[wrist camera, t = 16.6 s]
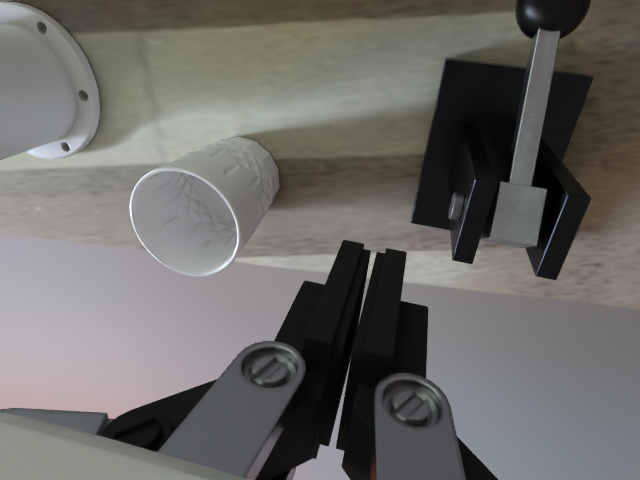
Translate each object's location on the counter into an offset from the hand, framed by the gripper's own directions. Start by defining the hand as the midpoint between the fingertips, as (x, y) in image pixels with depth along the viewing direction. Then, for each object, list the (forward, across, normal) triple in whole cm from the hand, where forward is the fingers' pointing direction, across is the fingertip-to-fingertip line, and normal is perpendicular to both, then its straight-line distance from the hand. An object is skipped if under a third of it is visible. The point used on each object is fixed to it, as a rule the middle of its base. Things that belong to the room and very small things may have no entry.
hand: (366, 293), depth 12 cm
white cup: (+23, +13, +7) cm, 28 cm away
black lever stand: (+23, -6, +2) cm, 24 cm away
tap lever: (+16, -6, -2) cm, 18 cm away
